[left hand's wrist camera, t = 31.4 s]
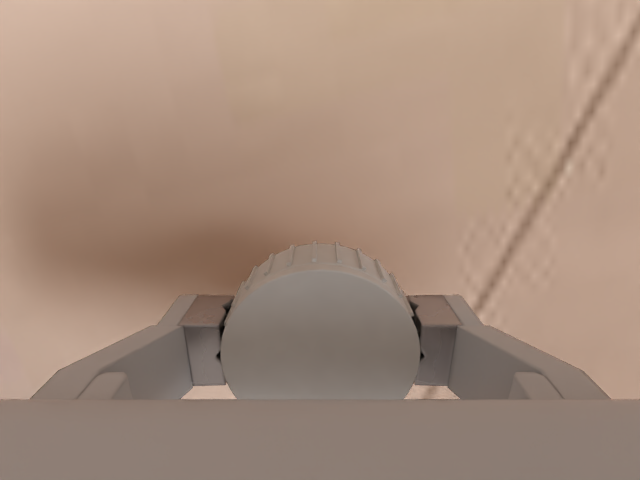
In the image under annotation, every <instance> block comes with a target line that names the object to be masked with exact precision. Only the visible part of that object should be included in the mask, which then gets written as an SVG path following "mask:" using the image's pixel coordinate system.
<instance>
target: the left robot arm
mask: <svg viewBox="0 0 640 480" xmlns="http://www.w3.org/2000/svg"><path fill="white" fill-rule="evenodd" d="M234 298H235V296H231V295H180V296H179V297H178V298H177V299H176V301H175V302H174V303H173V305H172V306H171V307H170V309H169V310H168V311H167V313H166V314H165V315H164V317H163V318H162V319H161V321H160V322H159V323H158V325H157V326H149V327H147V328H145V329H143V330H141V331H139V332H137V333H135V334H133V335H131V336H129V337H127V338H124V339H122V340H120V341H118V342H116V343H114V344H112V345H110V346H108V347H106V348H104V349H102V350H100V351H98V352H96V353H93V354H91V355H89V356H87V357H85V358H83V359H81V360H79V361H77V362H75V363H73V364H71V365H69V366H67V367H65V368H62V369H60V370H58V371H57V372H56V373H55V374H54V375H53V376H52V377H51V378H50V379H49V380H48V381H47V382H46V383H45V384H44V385H43V386H42V387H41V388H40V389H39V390H38V391H37V392H36V393H35V394H34V395H33V396H32V397H31V398H30V399H0V480H640V399H611V398H610V397H609V396H608V395H607V394H606V393H605V392H604V391H603V390H602V389H601V388H600V387H599V386H598V385H597V384H596V383H595V382H594V381H593V380H592V379H591V378H590V377H589V376H588V375H587V374H586V373H585V372H584V371H582V370H580V369H578V368H576V367H574V366H572V365H570V364H568V363H566V362H564V361H562V360H559V359H557V358H555V357H553V356H551V355H549V354H547V353H545V352H543V351H541V350H539V349H537V348H535V347H533V346H531V345H529V344H526V343H524V342H522V341H520V340H518V339H516V338H514V337H512V336H510V335H508V334H506V333H504V332H502V331H500V330H498V329H496V328H493V327H491V326H484V325H483V324H482V322H481V321H480V320H479V318H478V317H477V316H476V315H475V313H474V312H473V311H472V309H471V308H470V307H469V305H468V304H467V303H466V301H465V300H464V299H463V298H462V296H460V295H458V294H457V295H417V296H406V298H407V301H408V303H409V305H410V307H411V309H412V311H413V314H414V316H412V319H413V321H414V324H415V327H416V329H417V333H418V337H419V341H420V363H419V368H418V372H417V375H416V378H415V381H414V383H415V385H431V386H448V388H449V389H450V390H451V391H452V392H453V393H455V394H456V395H457V396H458V397H459V398H460V399H181V398H182V397H183V396H184V395H185V394H186V393H187V392H188V391H190V390H191V389H192V388H193V386H209V385H226V382H227V381H226V379H225V376H224V373H223V370H222V364H221V358H220V347H221V340H222V335H223V332H224V329H225V326H223V324H224V321H225V319H226V317H227V315H228V313H229V310H230V308H231V305H232V302H233V300H234Z"/></svg>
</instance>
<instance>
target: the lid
mask: <svg viewBox="0 0 640 480" xmlns="http://www.w3.org/2000/svg"><path fill="white" fill-rule="evenodd" d="M412 316H414V314H413V311H412V309H411V307H410V305H409V303H408V301H407V298H406V296H405V294H404V292H403V290H400V287H399V285H398V283H397V281H396V279H395V276H394V275H393V273H391V274H389V273H388V272H387V271H386V270H385V269H384V268H383V267H382V266H381V263H380V261H379V260H378V259H376V260H375V261H374V260H373V259H371V258H370V257H368V256H367V255H365V254H363V253H362V251H361V249H359V248H357V250H354V249H351V248H348V247H344V246H340V243H339V242H335V244H323V243H321V244H317V241H313V242H312V244H307V245H301V246H296V247H295V246H294V244H293V245H290V249H287V250H284V251H282V252H280V253H278V254H276V255H275V254H274V253H272V254H270V256H269V259H267V260H266V261H265V262H264V263H262V264H261V265H260V266H259V267H258V266H256V265H255V266H254V267H253V270H252V272H251V274H250V277H249V278H248V279H247V281H246V282H244V281H242V283H241V285H240V287H239V289H238V292H237V294H236V296H235V298H234V300H233V302H232V305H231V308H230V310H229V313H228V315H227V317H226V319H225V321H224V324H223V326H225V329H224V332H223V335H222V340H221V347H220V358H221V364H222V370H223V373H224V376H225V379H226V381H227V383H228V385H229V387H230V389H231V391H232V392H233V394H234V395H235V397H236V398H237V399H404V398H405V396H406V395H407V394H408V392H409V390H410V389H411V387H412V385H413V383H414V381H415V378H416V375H417V372H418V368H419V363H420V341H419V337H418V333H417V329H416V327H415V324H414V321H413V319H412Z"/></svg>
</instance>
